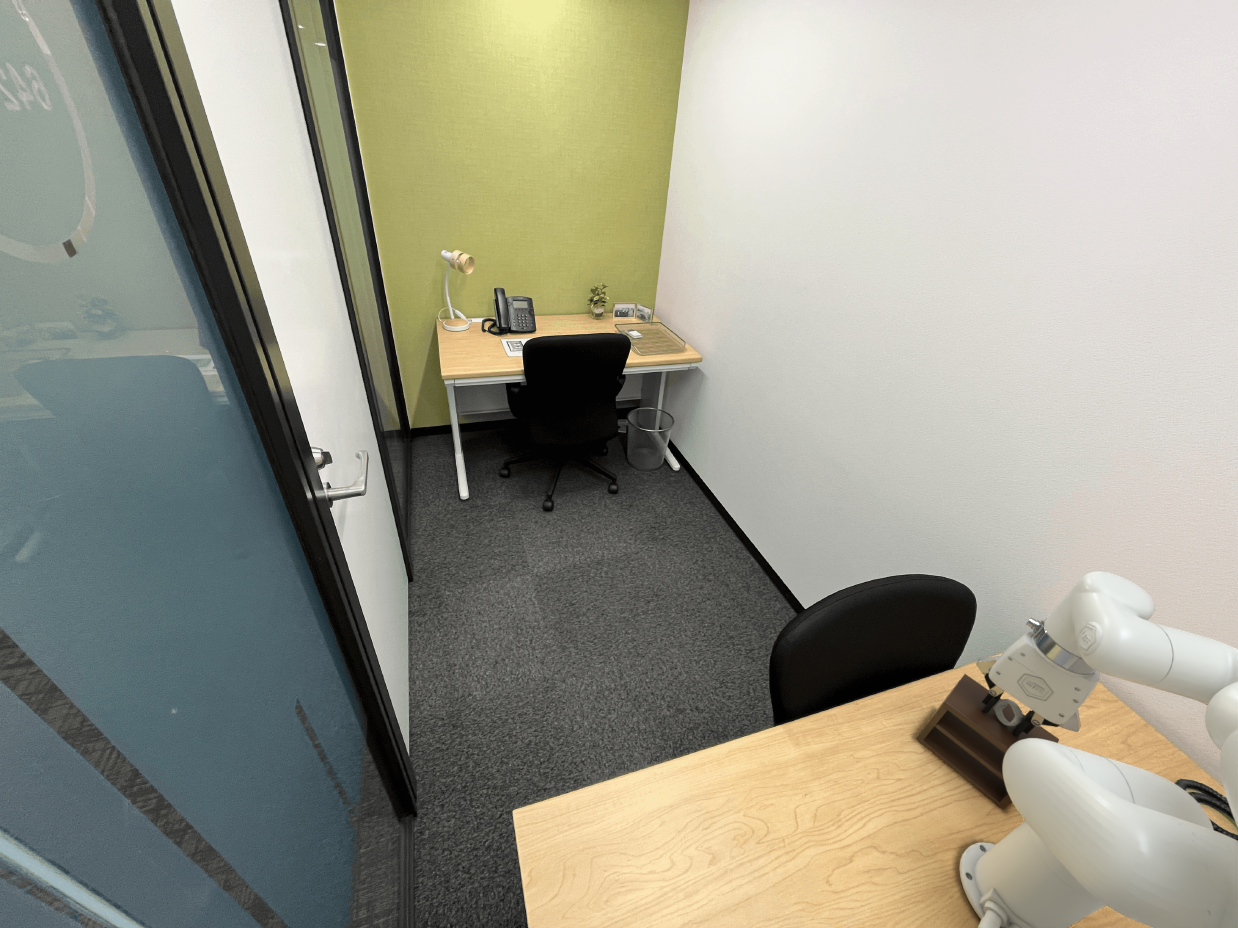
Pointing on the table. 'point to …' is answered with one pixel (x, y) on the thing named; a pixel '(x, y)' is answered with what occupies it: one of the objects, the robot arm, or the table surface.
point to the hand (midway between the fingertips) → (1002, 718)
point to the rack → (975, 738)
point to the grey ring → (1016, 709)
